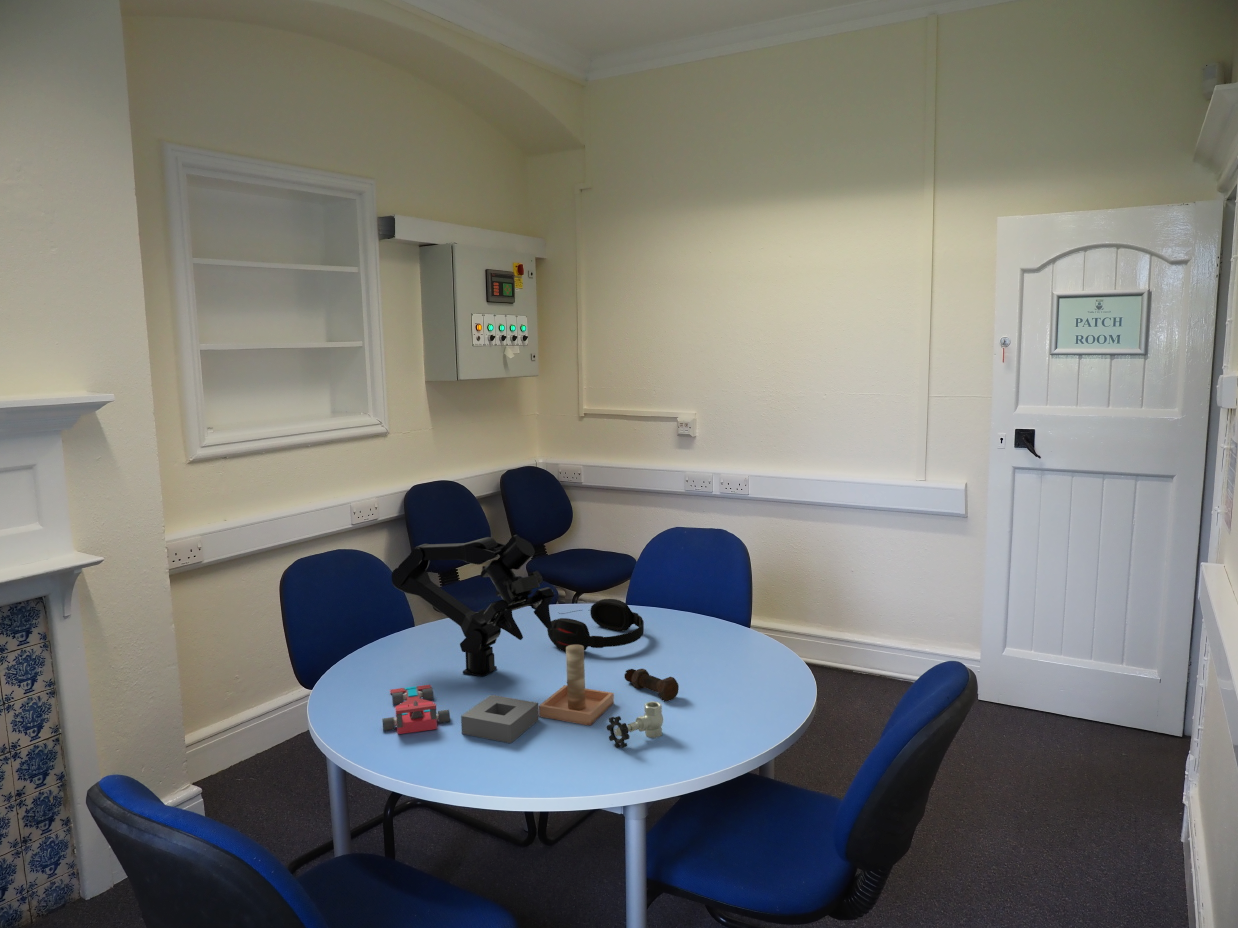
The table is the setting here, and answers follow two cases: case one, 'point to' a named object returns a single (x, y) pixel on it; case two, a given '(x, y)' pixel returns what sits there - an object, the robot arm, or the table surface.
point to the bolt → (653, 683)
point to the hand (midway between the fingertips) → (536, 634)
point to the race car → (414, 710)
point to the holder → (500, 718)
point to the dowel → (575, 677)
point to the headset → (606, 616)
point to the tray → (559, 710)
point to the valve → (638, 725)
